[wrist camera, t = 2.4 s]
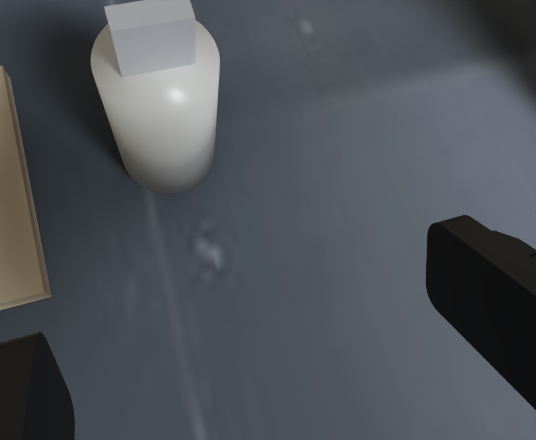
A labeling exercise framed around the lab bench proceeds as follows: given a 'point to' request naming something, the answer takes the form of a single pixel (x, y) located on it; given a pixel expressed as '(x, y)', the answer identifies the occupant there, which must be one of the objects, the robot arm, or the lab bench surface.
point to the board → (17, 214)
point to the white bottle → (159, 91)
